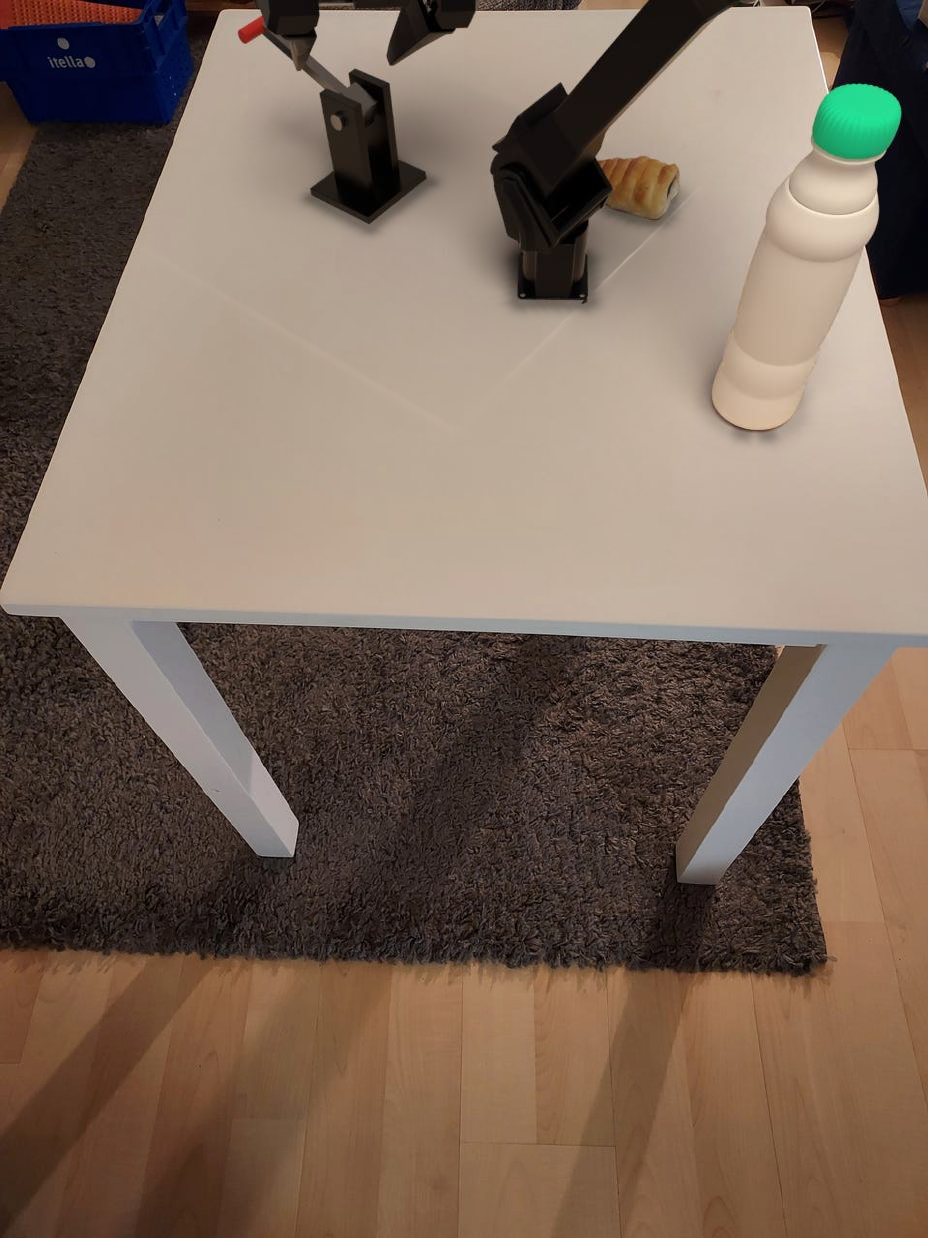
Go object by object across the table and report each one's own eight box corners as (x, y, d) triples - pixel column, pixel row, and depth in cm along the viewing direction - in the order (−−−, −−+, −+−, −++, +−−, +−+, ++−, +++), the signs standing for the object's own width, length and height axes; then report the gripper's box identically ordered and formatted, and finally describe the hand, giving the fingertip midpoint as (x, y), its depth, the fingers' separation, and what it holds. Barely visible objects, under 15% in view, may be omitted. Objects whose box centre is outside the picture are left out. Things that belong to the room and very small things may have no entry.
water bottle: (799, 380, 72) (929, 74, 50) (790, 441, 69) (925, 143, 47) (716, 365, 73) (808, 60, 51) (703, 425, 70) (796, 126, 48)
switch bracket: (312, 198, 87) (290, 96, 78) (369, 155, 90) (355, 52, 81) (369, 228, 84) (353, 125, 75) (426, 182, 87) (418, 78, 78)
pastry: (571, 205, 84) (575, 169, 81) (594, 167, 87) (598, 131, 84) (661, 227, 82) (668, 191, 79) (682, 187, 85) (689, 151, 82)
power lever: (237, 44, 80) (237, 20, 77) (278, 18, 82) (278, -6, 79) (347, 141, 80) (350, 120, 77) (385, 113, 82) (389, 92, 79)
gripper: (464, -187, 66) (405, -20, 81) (233, -205, 59) (214, -17, 73) (511, -57, 66) (445, 88, 80) (286, -58, 59) (257, 101, 73)
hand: (344, 63), depth 77 cm, fingers open, 9 cm apart
